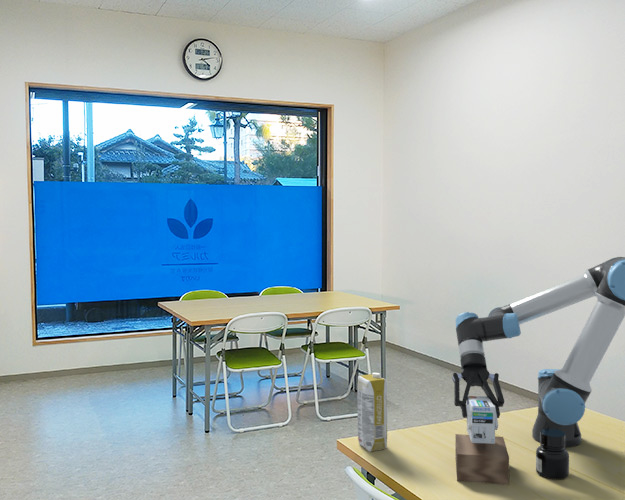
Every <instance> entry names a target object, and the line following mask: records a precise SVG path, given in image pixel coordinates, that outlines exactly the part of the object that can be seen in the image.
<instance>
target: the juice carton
mask: <svg viewBox="0 0 625 500" xmlns="http://www.w3.org/2000/svg"><path fill="white" fill-rule="evenodd" d="M356 389H357V390H356V391H357V399H356V400H357V440H358V444H359V445H360V446H361V447H362V448H364V449H366V450H367V451H368V452H374V451H380V450H386V449H387V446H388V386H387V379H386V378H383V377H381V373H379V372H372V373H370V374H363V375H361V374H360V375H358V376H357V388H356Z"/></svg>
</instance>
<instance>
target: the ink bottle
mask: <svg viewBox="0 0 625 500" xmlns="http://www.w3.org/2000/svg"><path fill="white" fill-rule="evenodd" d="M539 444H540V446H538V447H537V448H536V449H535V471H536V474H538V475H539V476H541V477H544V478H547V479H552V480H564V479H567V478H568V477H569V474H570V453H569V451H568V450H567V449H566V447H565V433H564V432H562V431H560V430H556V429H543V430H541V431H540V442H539Z"/></svg>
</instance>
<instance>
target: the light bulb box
mask: <svg viewBox="0 0 625 500" xmlns="http://www.w3.org/2000/svg"><path fill="white" fill-rule="evenodd" d="M466 405H469V409H470V416H471V424H472V426H471V430H468V427H467V426H466V432H467V435H469V437H470V439H471V442H472V443H489V444H495V436H496V430H495V406H494V405H493V403H492V402H491V400H490V399H489V398H488V397H487V396H485V395H484V396H483V395H482V396H481V395H477V396H476V395H468V398H467V402H466Z"/></svg>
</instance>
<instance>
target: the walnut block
mask: <svg viewBox="0 0 625 500" xmlns="http://www.w3.org/2000/svg"><path fill="white" fill-rule="evenodd" d="M455 468H456V469H455V470H456V481H457V482H464V483H465V482H466V483H479V484H480V483H481V484H493V485H495V484H496V485H507V486H509V485H510V455H509V452H508V449H507V444H506V442H505V438H504V436H498V435H497V436H496V435H495V444H489V443H472V442H471V439H470V437H469V434H463V433H461V434H460V433H458V434H457V433H455Z"/></svg>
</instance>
